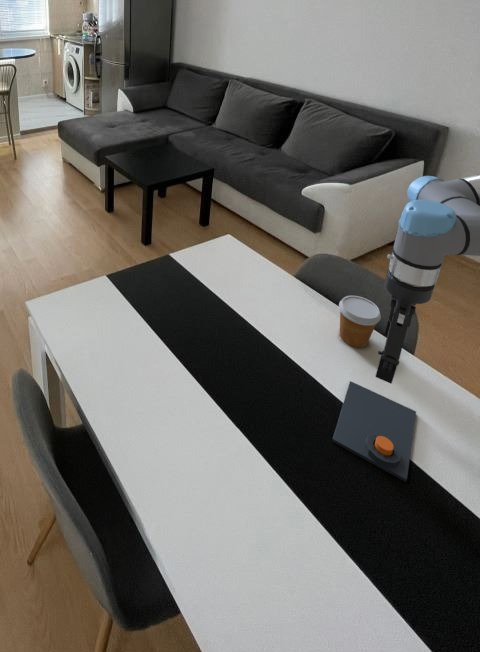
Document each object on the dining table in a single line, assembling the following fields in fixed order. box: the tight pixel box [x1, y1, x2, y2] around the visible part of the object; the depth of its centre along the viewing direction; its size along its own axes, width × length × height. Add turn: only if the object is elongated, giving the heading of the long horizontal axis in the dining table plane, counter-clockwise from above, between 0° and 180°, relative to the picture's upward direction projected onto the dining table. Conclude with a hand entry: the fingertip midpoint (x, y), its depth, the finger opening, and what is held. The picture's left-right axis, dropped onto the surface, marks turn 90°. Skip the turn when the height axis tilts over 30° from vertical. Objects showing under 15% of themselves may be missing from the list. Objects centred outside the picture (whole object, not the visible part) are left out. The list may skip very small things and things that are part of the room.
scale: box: [331, 380, 417, 483], centre depth 94 cm, size 18×13×4 cm
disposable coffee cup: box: [338, 295, 382, 348], centre depth 115 cm, size 10×10×12 cm
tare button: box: [375, 436, 394, 456], centre depth 88 cm, size 3×3×2 cm
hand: (387, 356), depth 91 cm, fingers open, 13 cm apart
